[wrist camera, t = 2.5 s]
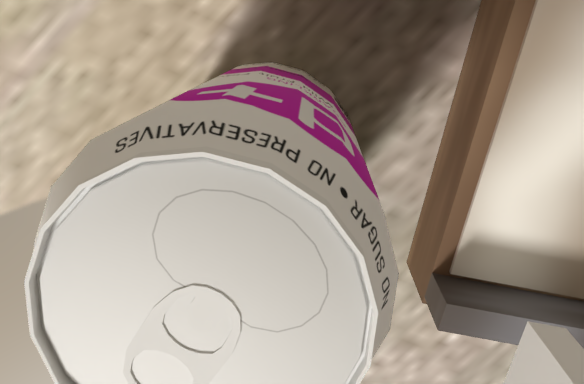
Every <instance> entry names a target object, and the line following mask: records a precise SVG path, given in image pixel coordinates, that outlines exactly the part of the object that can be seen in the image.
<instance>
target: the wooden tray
mask: <svg viewBox="0 0 584 384" xmlns="http://www.w3.org/2000/svg"><path fill="white" fill-rule="evenodd" d="M407 264H408V267H409V270H410V272H411V275H412V277H413V280H414V282H415V285H416V287H417V290H418V293H419V295H420V298H421V300H422V303H425V304H427V305H428V307H429V310H430V312H431V315H432V317H433V319H434V322H435V324H436V327H437V329H438V330H439V331H444V332H450V333H455V334H461V335H466V336H471V337H477V338H482V339H488V340H493V341H498V342H504V343H509V344H515V345H518V344H519V342H520V339H521V337H522V334H523V332H524V329H525V327H526V324H527V321H529V322H535V323H540V324H546V325H551V326H557V327H562V328H566V329H567V330H568V331H569V332H570V334H571V335H572V336H573V337H574V338H575V339H576V341H577V342H578V343H579V344H580V345H581V346H582V348H583V349H584V0H482V1H481V4H480V8H479V11H478V15H477V18H476V22H475V25H474V29H473V32H472V36H471V39H470V43H469V46H468V50H467V53H466V57H465V60H464V64H463V67H462V71H461V74H460V78H459V81H458V85H457V88H456V92H455V95H454V99H453V102H452V105H451V109H450V112H449V116H448V119H447V123H446V126H445V130H444V133H443V137H442V140H441V144H440V147H439V151H438V154H437V158H436V161H435V165H434V168H433V172H432V175H431V179H430V182H429V186H428V189H427V193H426V196H425V200H424V203H423V207H422V210H421V214H420V217H419V221H418V224H417V228H416V231H415V235H414V238H413V242H412V245H411V249H410V252H409V256H408V259H407Z"/></svg>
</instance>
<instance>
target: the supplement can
mask: <svg viewBox="0 0 584 384" xmlns="http://www.w3.org/2000/svg"><path fill="white" fill-rule="evenodd" d="M398 274H399V273H398V269H397V264H396V260H395V256H394V252H393V248H392V244H391V240H390V235H389V231H388V227H387V223H386V219H385V215H384V212H383V209H382V207H381V204H380V201H379V198H378V196H377V193H376V190H375V188H374V185H373V182H372V180H371V177H370V174H369V172H368V169H367V166H366V163H365V161H364V158H363V155H362V153H361V150H360V147H359V145H358V142H357V139H356V137H355V134H354V131H353V128H352V126H351V123H350V120H349V118H348V115H347V113H346V112H345V111H344V109H343V108H342V106H341V105H340V103H339V102H338V100H337V99H336V97H335V96H334V95H333V93H332V92H331V90H330V89H329V88H328V87H326V86H325V85H323V84H322V83H321V82H319V81H318V80H316V79H315V78H314V77H312V76H311V75H309V74H308V73H306V72H305V71H304V70H301V69H297V68H293V67H289V66H285V65H282V64H278V63H274V62H266V63H257V64H247V65H239V66H237V67H235V68H233V69H231V70H229V71H227V72H225V73H223V74H221V75H219V76H217V77H215V78H213V79H211V80H209V81H207V82H205V83H203V84H201V85H199V86H197V87H195V88H193V89H191V90H189V91H187V92H185V93H183V94H181V95H179V96H177V97H175V98H173V99H171V100H169V101H167V102H165V103H163V104H161V105H159V106H157V107H155V108H153V109H151V110H149V111H147V112H145V113H143V114H141V115H139V116H137V117H135V118H133V119H131V120H129V121H127V122H125V123H123V124H121V125H119V126H117V127H115V128H113V129H111V130H109V131H107V132H105V133H103V134H101V135H99V136H97V137H95V138H93V139H91V140H90V141H89V143H88V144H87V145H86V146H85V147H84V148H83V150H82V151H81V152H80V153H79V154H78V155H77V157H76V158H75V159H74V160H73V161H72V163H71V164H70V165H69V166H68V167H67V168H66V170H65V171H64V172H63V173H62V174H61V175H60V177H59V178H58V179H57V180H56V181H55V183H54V184H53V185H52V186H51V189H50V192H49V195H48V198H47V202H46V205H45V208H44V212H43V215H42V218H41V221H40V225H39V228H38V231H37V234H36V238H35V241H34V251H33V255H32V258H31V261H30V264H29V268H28V271H27V274H26V277H25V281H24V285H25V293H26V302H27V312H28V322H29V331H30V336H31V338H32V340H33V342H34V344H35V346H36V348H37V350H38V352H39V354H40V356H41V358H42V360H43V362H44V364H45V366H46V368H47V370H48V371H49V374H50V376H51V377H52V379H53V381H54V383H55V384H360V382H361V381H362V379H363V377H364V376H365V374H366V372H367V371H368V369H369V367H370V366H371V360H372V358H373V357H374V355H375V353H376V352H377V350H378V348H379V347H380V345H381V343H382V342H383V340H384V338H385V337H386V335H387V333H388V332H389V330H390V325H391V319H392V313H393V306H394V300H395V294H396V287H397V281H398Z"/></svg>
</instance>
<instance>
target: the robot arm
mask: <svg viewBox="0 0 584 384" xmlns="http://www.w3.org/2000/svg"><path fill="white" fill-rule="evenodd" d="M503 384H584V349H583V348H582V346H581V345H580V344H579V343H578V342H577V341H576V339H575V338H574V337H573V336H572V335H571V334H570V332H569V331H568V330H567V329H566V328H562V327H557V326H551V325H546V324H540V323H535V322H529V321H527V324H526V327H525V329H524V332H523V334H522V337H521V339H520V342H519V344H518V347H517V350H516V352H515V355H514V357H513V360H512V362H511V365H510V367H509V370H508V373H507V375H506V378H505V380H504V383H503Z"/></svg>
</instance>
